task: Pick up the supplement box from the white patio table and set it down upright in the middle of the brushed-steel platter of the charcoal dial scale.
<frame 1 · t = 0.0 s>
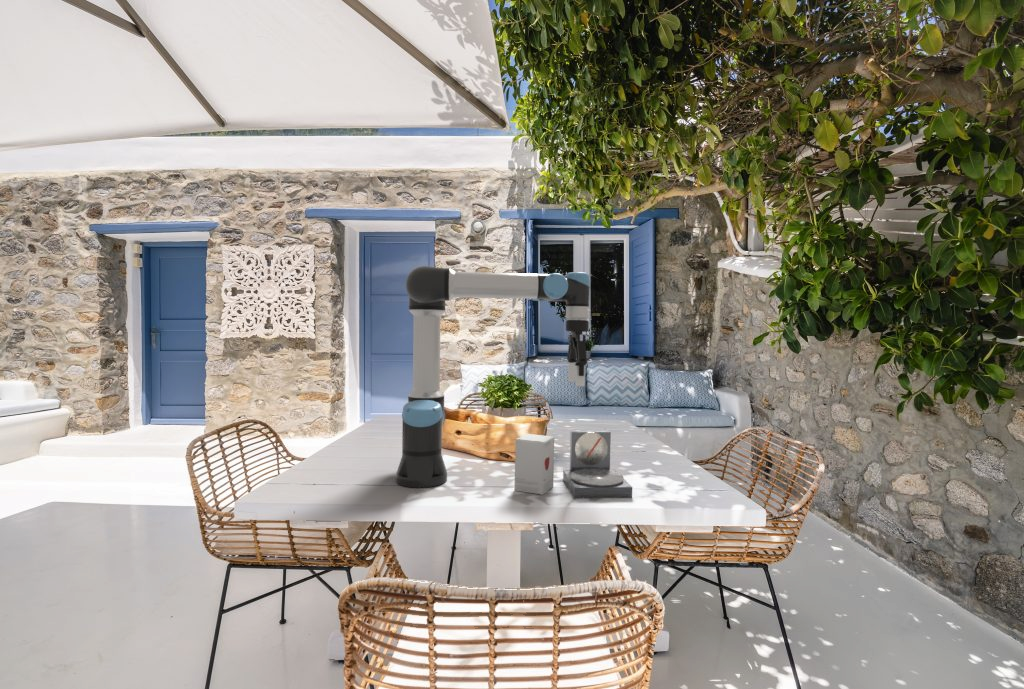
hand: (576, 383, 174), 28 cm above the table, tool pointing down, fingers open, 13 cm apart
dial scale: (595, 488, 153), on the table
supplement box: (534, 489, 152), on the table
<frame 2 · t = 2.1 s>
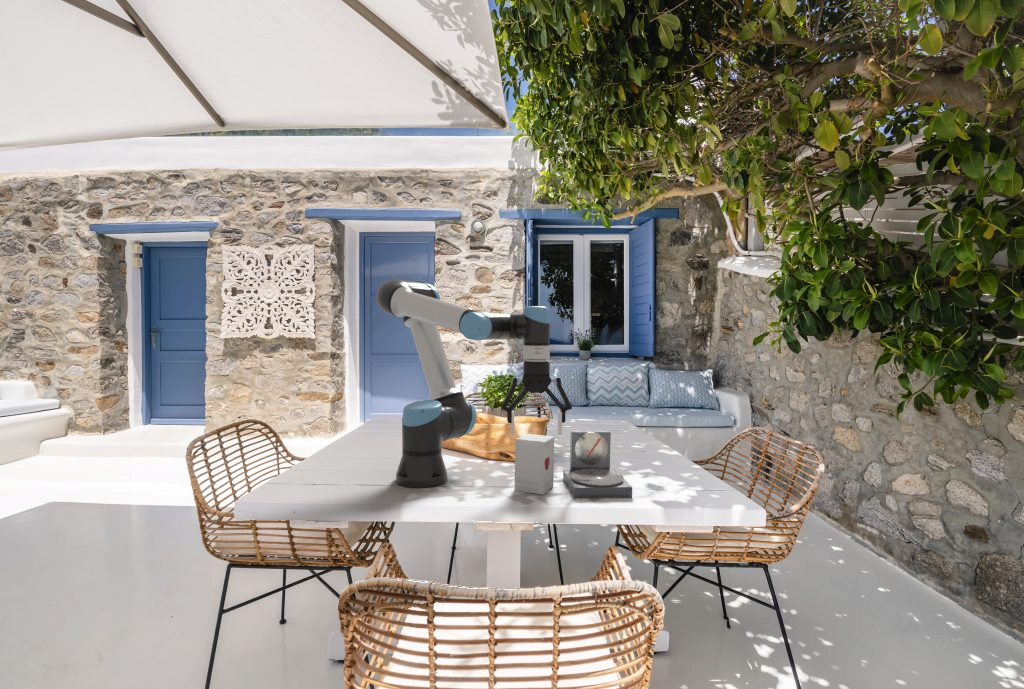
hand: (536, 434, 151), 16 cm above the table, tool pointing down, fingers open, 13 cm apart
nothing on the table moved.
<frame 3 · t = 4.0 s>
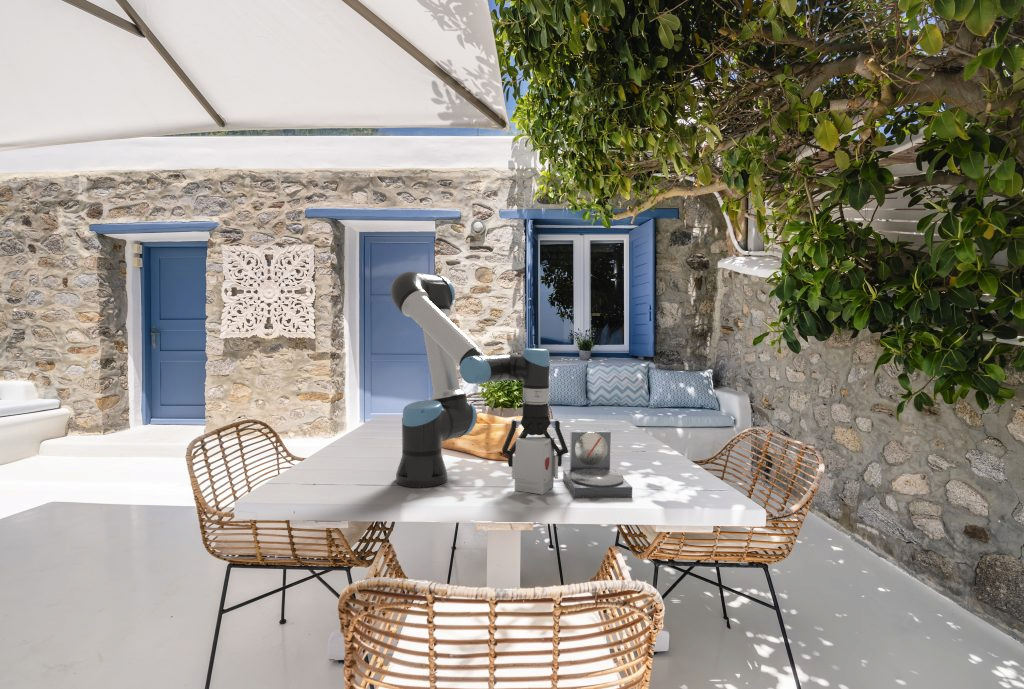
hand: (534, 477, 152), 3 cm above the table, tool pointing down, fingers closed on supplement box, 12 cm apart
supplement box: (534, 489, 152), on the table, touching gripper
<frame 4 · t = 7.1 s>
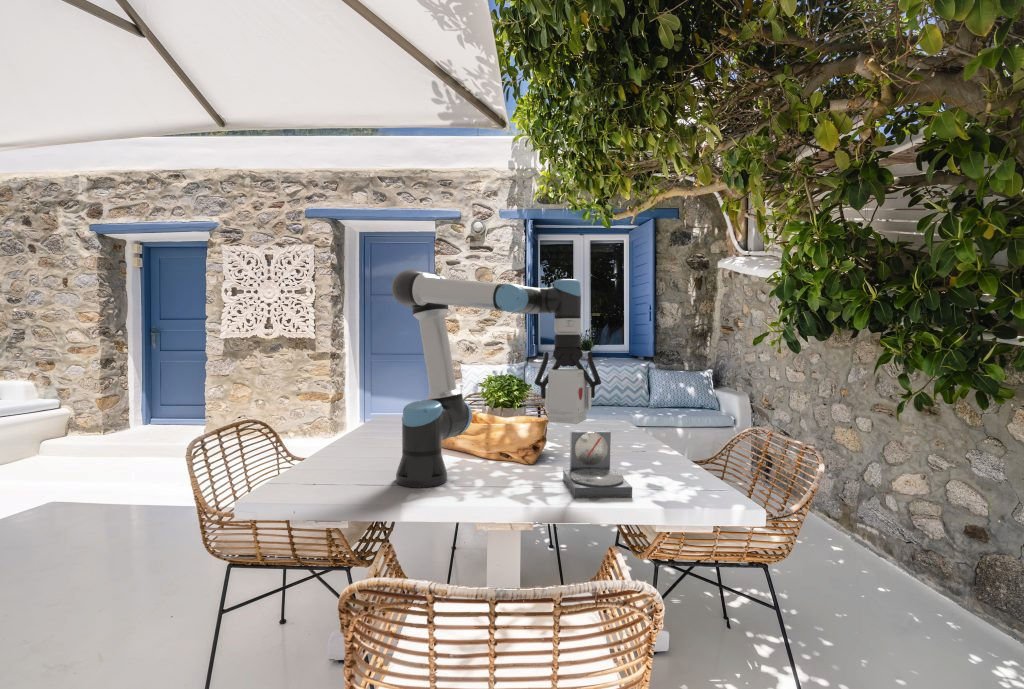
hand: (567, 409, 151), 23 cm above the table, tool pointing down, fingers closed on supplement box, 12 cm apart
supplement box: (567, 421, 151), point 20 cm above the table, touching gripper
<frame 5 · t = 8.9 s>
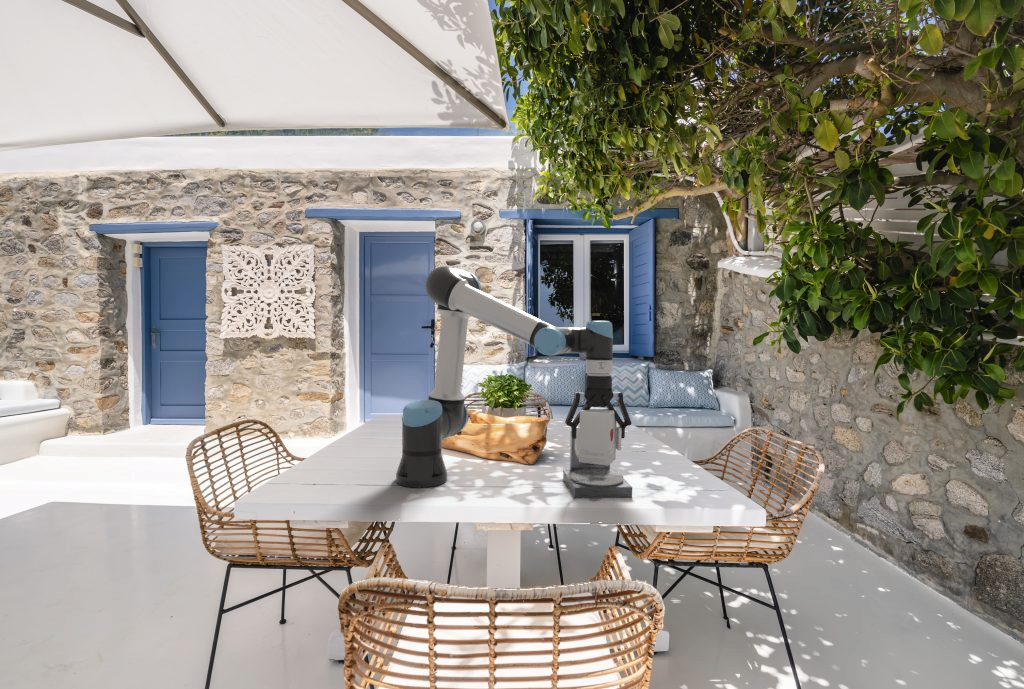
hand: (597, 449, 152), 11 cm above the table, tool pointing down, fingers closed on supplement box, 12 cm apart
supplement box: (597, 461, 152), point 8 cm above the table, touching gripper
when the fingers open (9 cm above the table, at t = 10.5 s): supplement box drops 1 cm, resting on dial scale.
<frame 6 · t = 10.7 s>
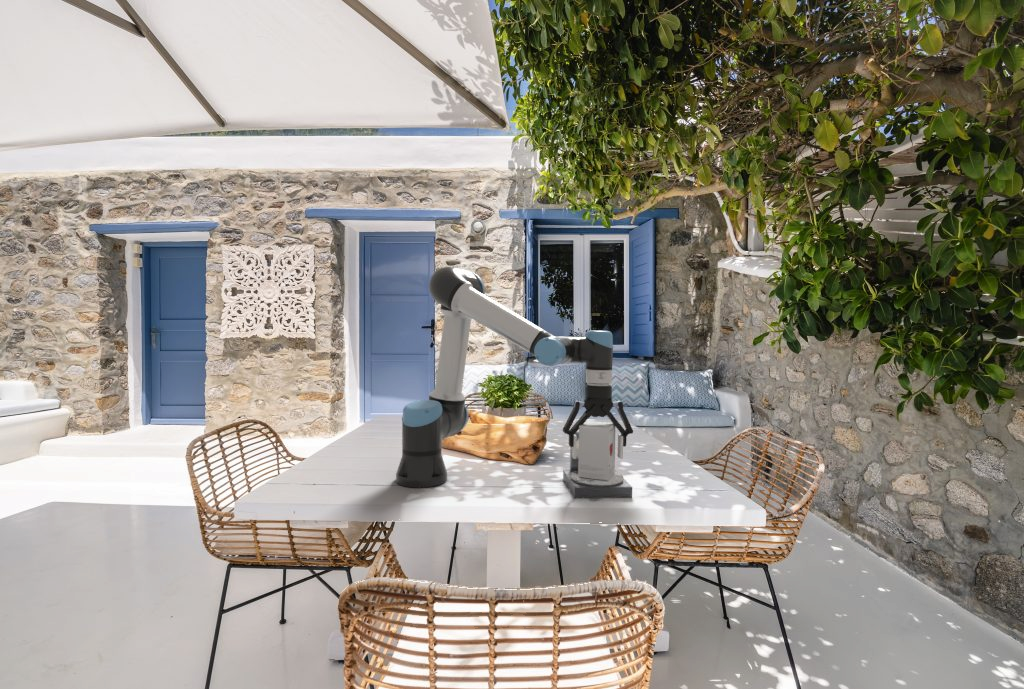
hand: (597, 457, 152), 9 cm above the table, tool pointing down, fingers open, 13 cm apart
supplement box: (596, 476, 152), point 4 cm above the table, touching dial scale
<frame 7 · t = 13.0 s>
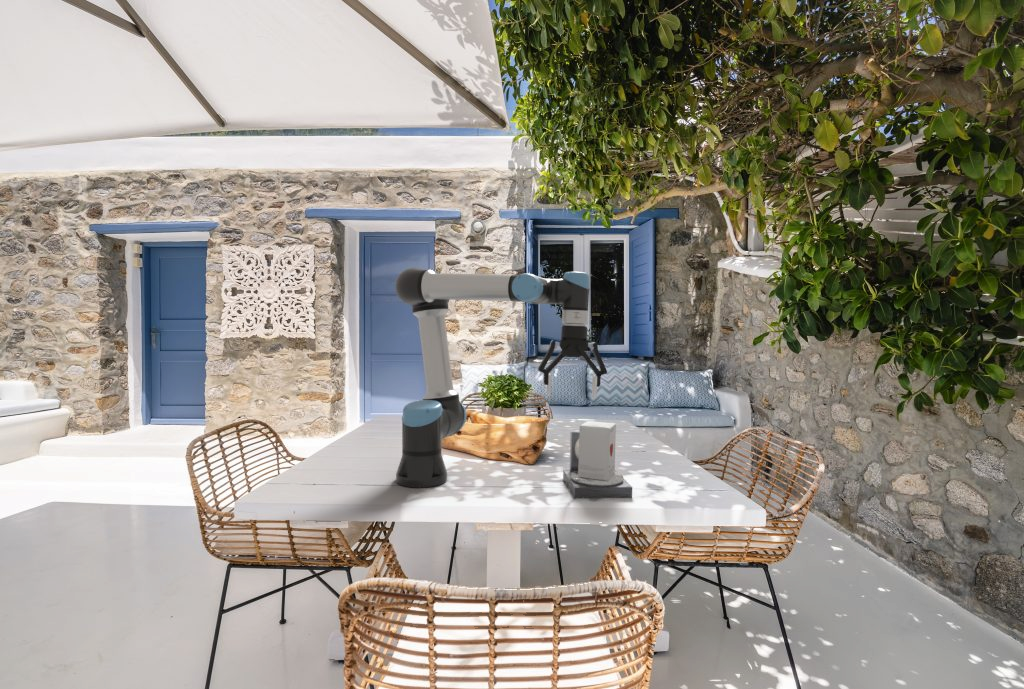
hand: (571, 397, 155), 26 cm above the table, tool pointing down, fingers open, 13 cm apart
nothing on the table moved.
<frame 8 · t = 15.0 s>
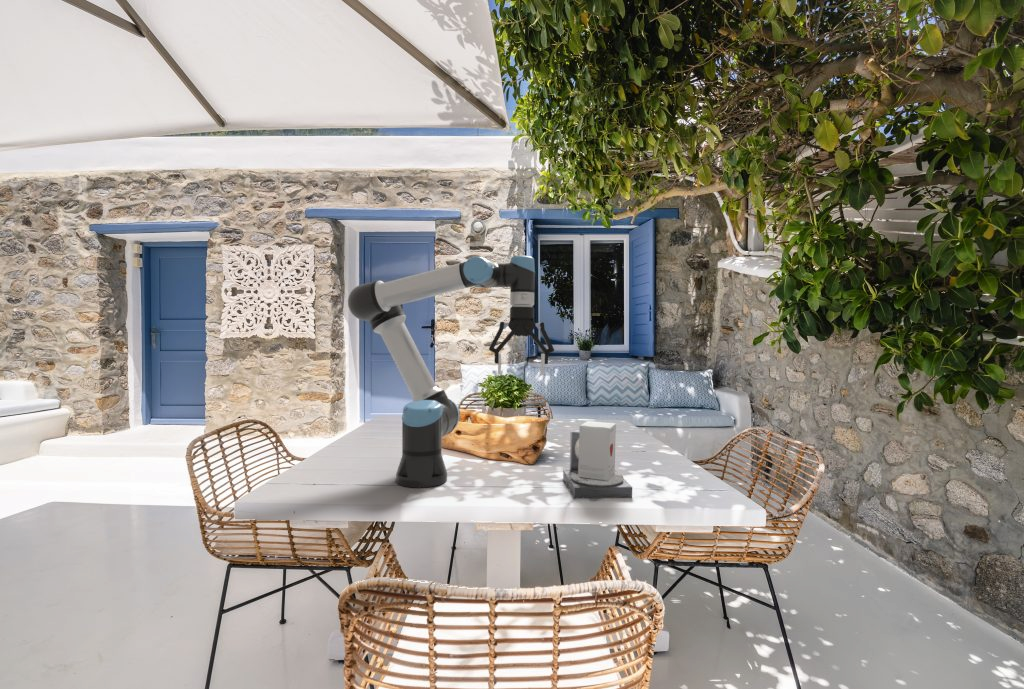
hand: (521, 374, 164), 32 cm above the table, tool pointing down, fingers open, 13 cm apart
nothing on the table moved.
at the end: supplement box inside the target area on the dial scale (0.0 cm from its centre), point 3.8 cm above the dial scale's base; supplement box tilted 0°; the gripper is holding nothing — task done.
